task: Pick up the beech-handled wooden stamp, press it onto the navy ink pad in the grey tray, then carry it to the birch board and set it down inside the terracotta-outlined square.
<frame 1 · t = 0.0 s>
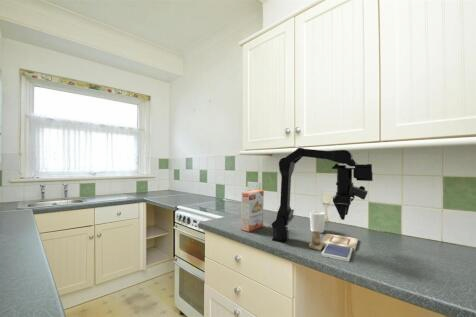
hand: (344, 217, 97), 15 cm above the counter, fingers open, 9 cm apart
ink pad: (337, 253, 95), on the counter
white cup: (317, 231, 125), on the counter
board: (339, 242, 108), on the counter
stamp: (316, 247, 102), on the counter
cracker box: (252, 228, 130), on the counter
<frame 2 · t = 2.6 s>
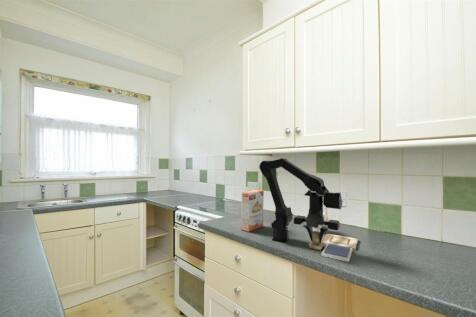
hand: (316, 241, 102), 3 cm above the counter, fingers closed on stamp, 3 cm apart
stamp: (316, 247, 102), on the counter, touching gripper
everything else where it was.
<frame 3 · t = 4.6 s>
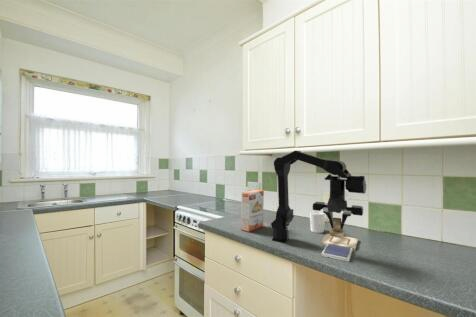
hand: (337, 228, 95), 10 cm above the counter, fingers closed on stamp, 3 cm apart
stamp: (337, 235, 95), point 8 cm above the counter, touching gripper
everything else where it was.
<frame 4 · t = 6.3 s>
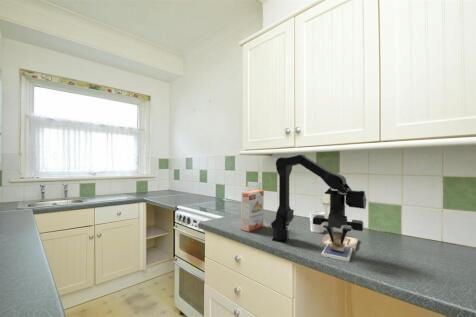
hand: (337, 243, 95), 4 cm above the counter, fingers closed on stamp, 3 cm apart
stamp: (337, 249, 95), point 2 cm above the counter, touching gripper
everything else where it was.
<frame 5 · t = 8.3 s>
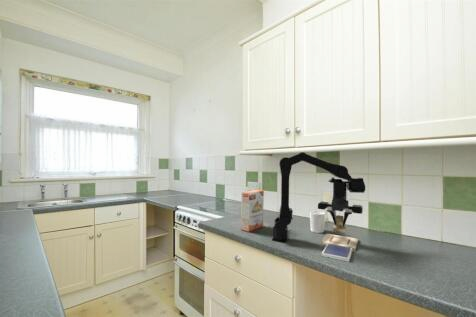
hand: (339, 225, 108), 8 cm above the counter, fingers closed on stamp, 3 cm apart
stamp: (339, 230, 108), point 5 cm above the counter, touching gripper
everything else where it was.
when the fingers open (4 cm above the counter, at t = 10.2 s): stamp stays where it is, resting on board.
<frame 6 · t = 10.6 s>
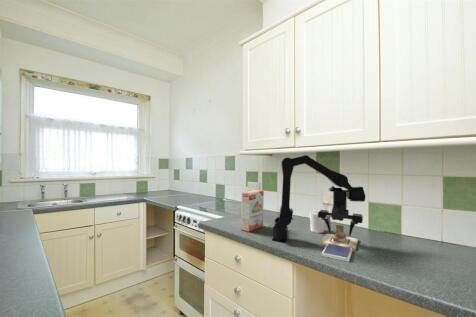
hand: (339, 234, 108), 4 cm above the counter, fingers open, 8 cm apart
stamp: (339, 240, 108), point 1 cm above the counter, touching board
everything else where it was.
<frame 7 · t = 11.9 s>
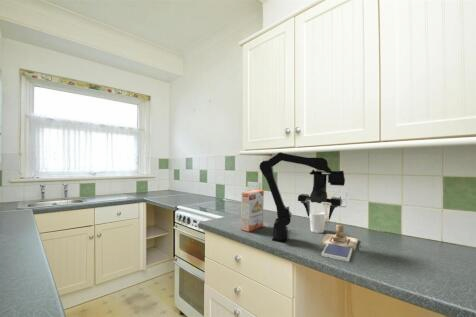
hand: (318, 218, 107), 12 cm above the counter, fingers open, 9 cm apart
nothing on the counter moved.
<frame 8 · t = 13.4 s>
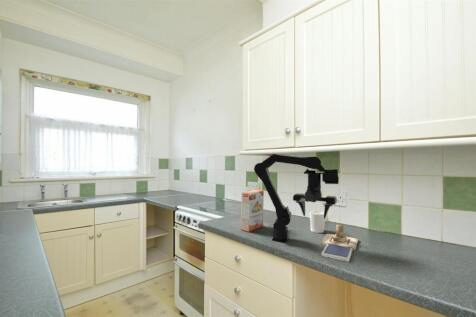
hand: (314, 217, 107), 12 cm above the counter, fingers open, 9 cm apart
nothing on the counter moved.
at the end: stamp 0.1 cm off-centre on the board, point 1.0 cm above the board's base; stamp tilted 0°; the gripper is holding nothing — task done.
